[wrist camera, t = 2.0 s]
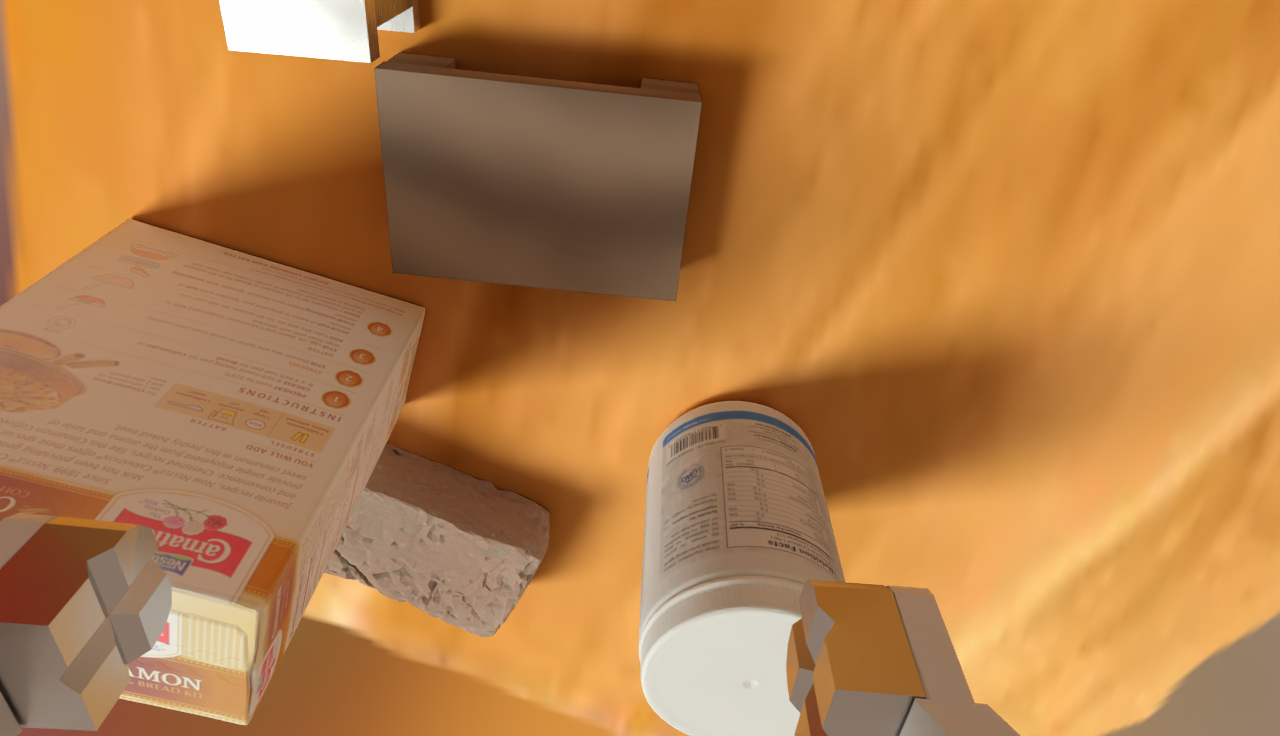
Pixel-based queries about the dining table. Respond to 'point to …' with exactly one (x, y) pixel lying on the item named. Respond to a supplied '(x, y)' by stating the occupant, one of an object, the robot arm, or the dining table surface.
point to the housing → (316, 26)
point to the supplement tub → (729, 567)
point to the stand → (536, 177)
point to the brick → (442, 541)
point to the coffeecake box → (203, 435)
